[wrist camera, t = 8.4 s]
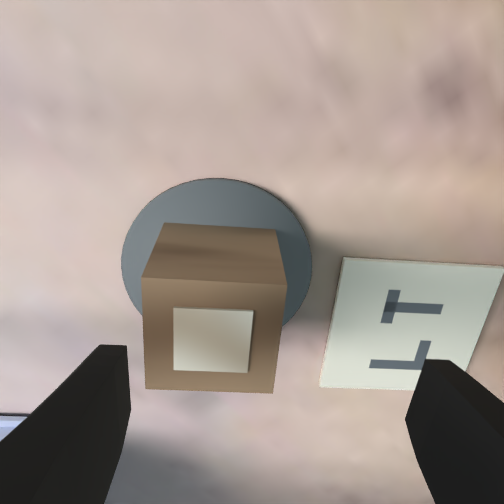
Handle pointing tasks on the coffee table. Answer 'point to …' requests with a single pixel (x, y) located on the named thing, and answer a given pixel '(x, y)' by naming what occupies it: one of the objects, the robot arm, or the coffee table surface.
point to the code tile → (404, 320)
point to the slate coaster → (219, 214)
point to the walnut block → (213, 309)
